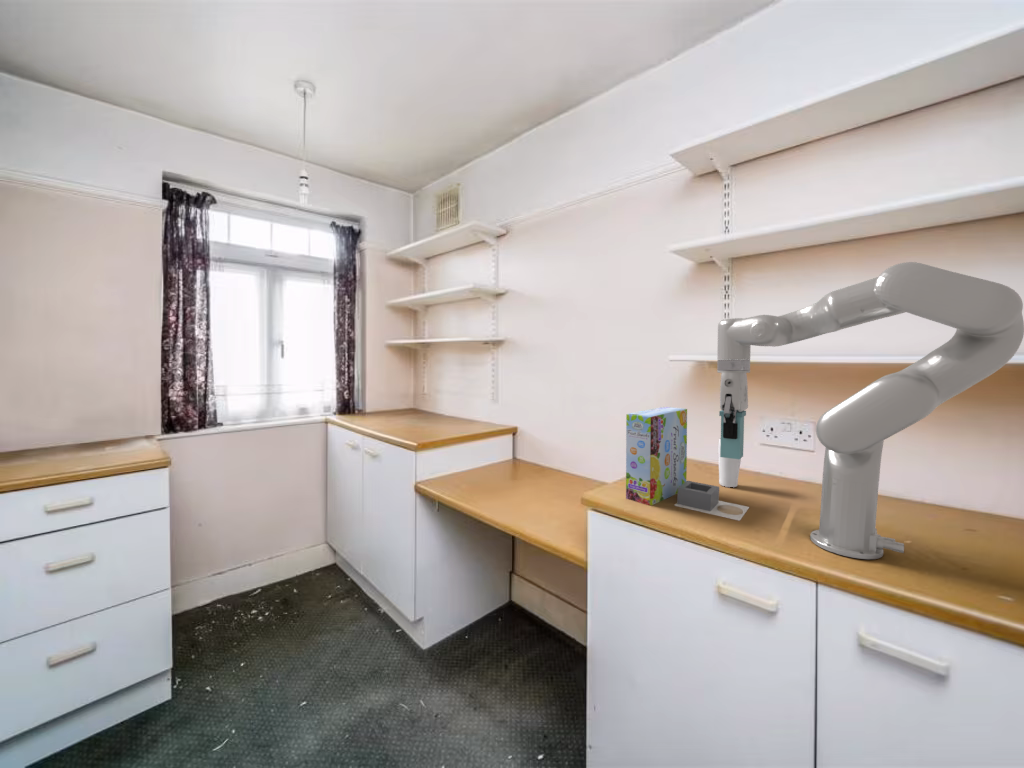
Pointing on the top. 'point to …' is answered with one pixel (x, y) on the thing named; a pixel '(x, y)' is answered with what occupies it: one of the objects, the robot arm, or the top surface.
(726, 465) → the drinking glass
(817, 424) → the robot arm
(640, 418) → the snack box
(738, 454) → the plug
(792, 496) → the top surface
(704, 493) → the board
